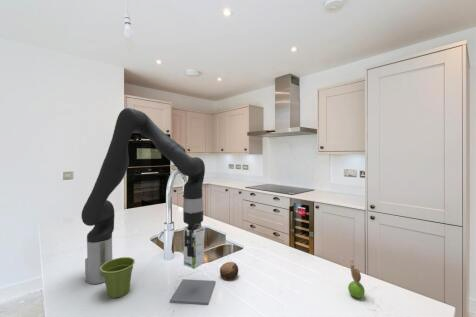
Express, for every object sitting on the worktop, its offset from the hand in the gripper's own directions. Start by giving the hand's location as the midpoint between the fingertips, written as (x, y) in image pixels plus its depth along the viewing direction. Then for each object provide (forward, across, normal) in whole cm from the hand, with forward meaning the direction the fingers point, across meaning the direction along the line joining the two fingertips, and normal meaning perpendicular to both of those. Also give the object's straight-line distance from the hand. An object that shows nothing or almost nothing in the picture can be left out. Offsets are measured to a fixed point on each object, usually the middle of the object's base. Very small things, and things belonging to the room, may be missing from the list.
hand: (193, 251), depth 88 cm
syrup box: (+5, 0, 0) cm, 5 cm away
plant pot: (+16, +3, -29) cm, 33 cm away
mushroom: (+16, -12, +12) cm, 23 cm away
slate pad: (+16, 0, 0) cm, 16 cm away
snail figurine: (+16, -3, +61) cm, 63 cm away
